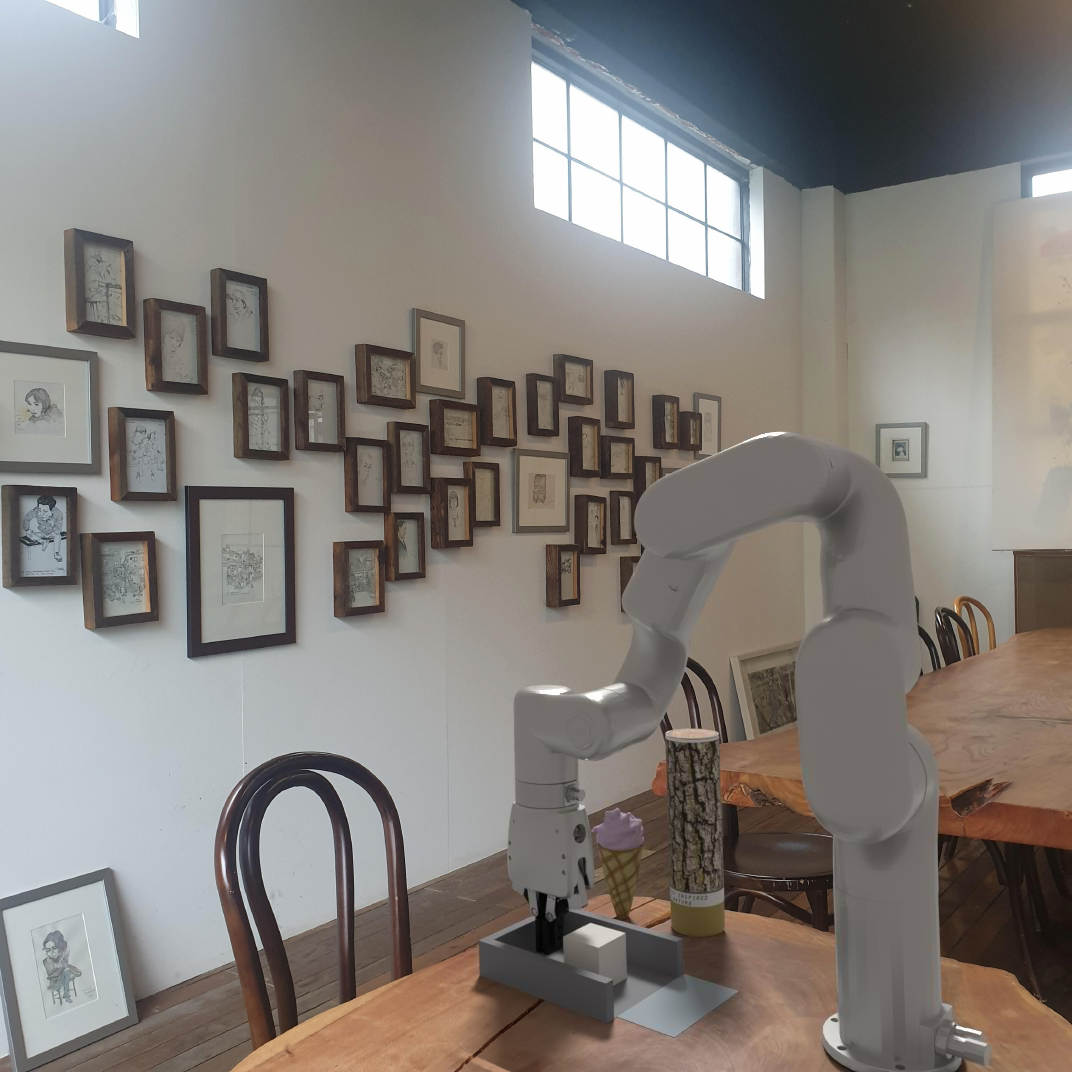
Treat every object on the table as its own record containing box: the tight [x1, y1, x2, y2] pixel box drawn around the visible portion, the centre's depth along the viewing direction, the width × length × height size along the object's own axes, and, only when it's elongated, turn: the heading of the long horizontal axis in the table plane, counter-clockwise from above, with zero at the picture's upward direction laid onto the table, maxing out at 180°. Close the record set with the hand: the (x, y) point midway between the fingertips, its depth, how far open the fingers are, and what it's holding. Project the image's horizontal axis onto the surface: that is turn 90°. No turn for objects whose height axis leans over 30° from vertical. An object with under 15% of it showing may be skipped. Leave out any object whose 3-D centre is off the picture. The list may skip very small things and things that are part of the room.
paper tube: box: [664, 728, 726, 938], centre depth 123 cm, size 7×7×25 cm
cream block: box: [563, 923, 627, 986], centre depth 109 cm, size 5×5×5 cm
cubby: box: [478, 909, 740, 1039], centre depth 108 cm, size 25×14×4 cm, turn 49°
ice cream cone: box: [590, 807, 645, 920], centre depth 128 cm, size 7×6×15 cm
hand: (549, 949), depth 113 cm, fingers closed
